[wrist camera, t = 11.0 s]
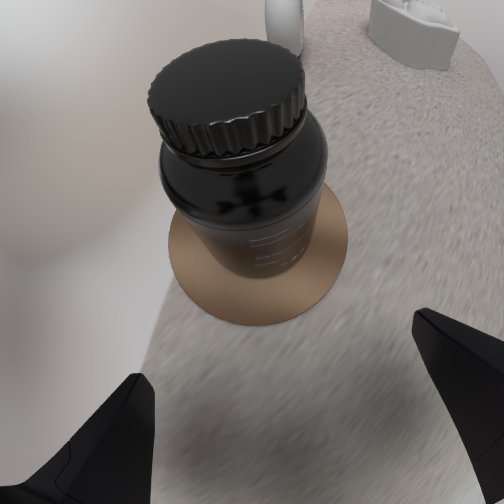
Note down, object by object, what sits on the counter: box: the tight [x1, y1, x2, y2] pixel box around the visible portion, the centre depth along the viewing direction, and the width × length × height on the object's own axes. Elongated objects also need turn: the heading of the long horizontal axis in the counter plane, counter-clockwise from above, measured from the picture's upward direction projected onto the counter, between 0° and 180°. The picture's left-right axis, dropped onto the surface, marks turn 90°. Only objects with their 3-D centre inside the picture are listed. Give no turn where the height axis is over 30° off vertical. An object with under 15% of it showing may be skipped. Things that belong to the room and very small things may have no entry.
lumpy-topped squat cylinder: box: [368, 0, 460, 71], centre depth 22 cm, size 10×13×9 cm
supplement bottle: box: [147, 38, 328, 278], centre depth 12 cm, size 7×7×12 cm
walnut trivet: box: [168, 182, 348, 326], centre depth 19 cm, size 12×12×1 cm
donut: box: [265, 0, 304, 57], centre depth 21 cm, size 10×3×10 cm, turn 170°
